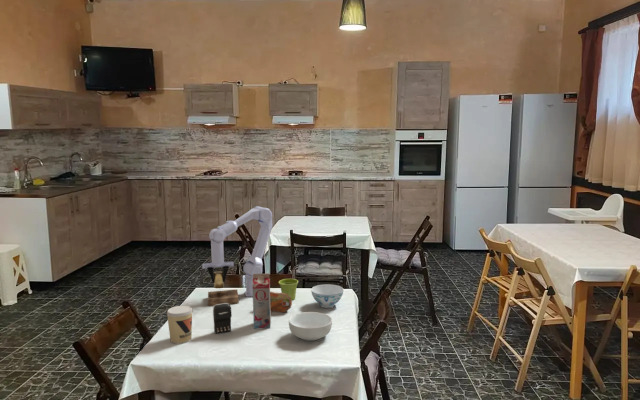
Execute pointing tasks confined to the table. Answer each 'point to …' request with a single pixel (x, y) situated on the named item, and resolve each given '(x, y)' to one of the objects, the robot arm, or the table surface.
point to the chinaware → (327, 294)
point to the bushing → (218, 280)
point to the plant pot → (289, 287)
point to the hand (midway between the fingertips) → (218, 281)
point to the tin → (280, 302)
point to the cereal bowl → (310, 325)
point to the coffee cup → (180, 324)
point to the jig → (223, 297)
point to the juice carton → (261, 301)
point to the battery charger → (222, 318)
